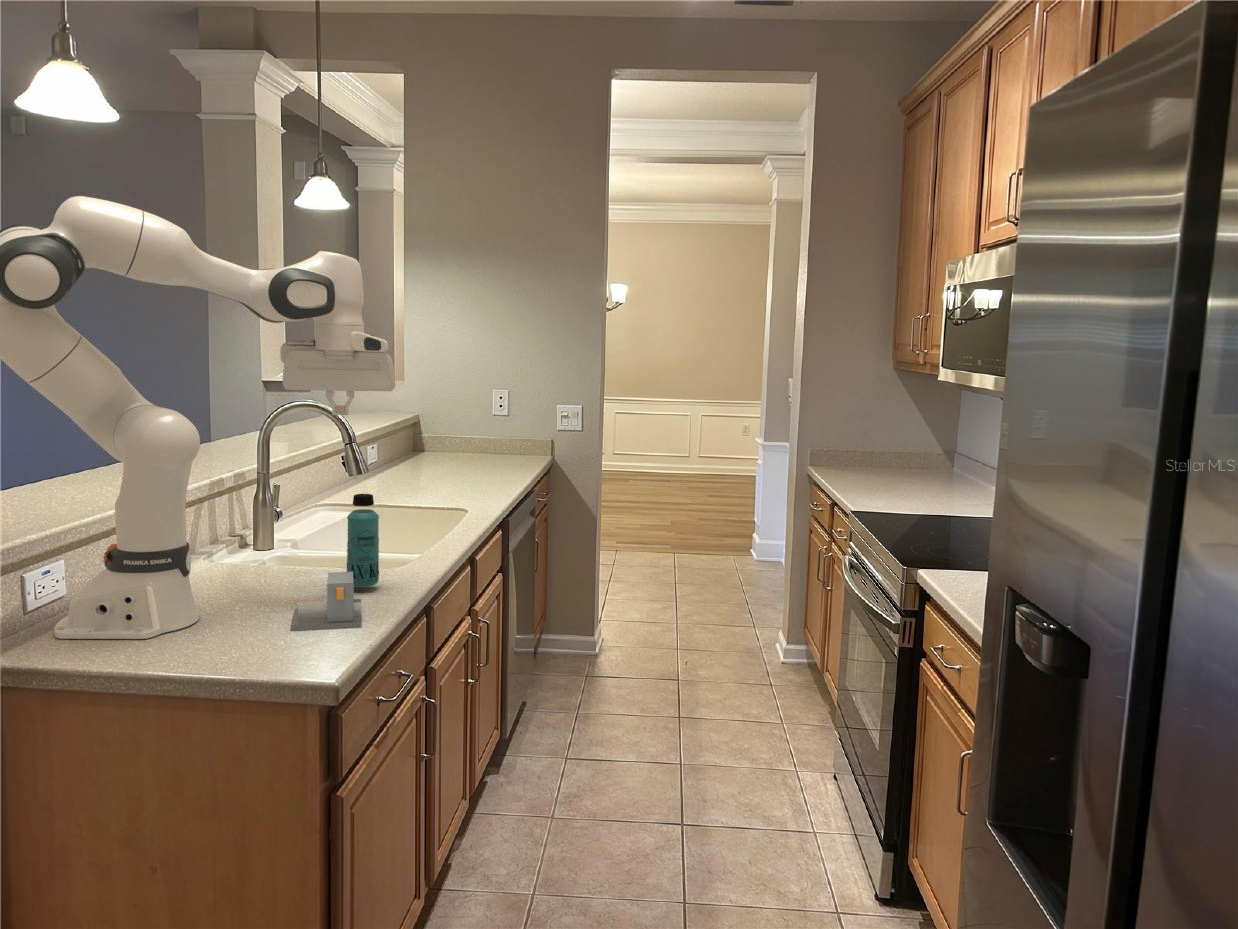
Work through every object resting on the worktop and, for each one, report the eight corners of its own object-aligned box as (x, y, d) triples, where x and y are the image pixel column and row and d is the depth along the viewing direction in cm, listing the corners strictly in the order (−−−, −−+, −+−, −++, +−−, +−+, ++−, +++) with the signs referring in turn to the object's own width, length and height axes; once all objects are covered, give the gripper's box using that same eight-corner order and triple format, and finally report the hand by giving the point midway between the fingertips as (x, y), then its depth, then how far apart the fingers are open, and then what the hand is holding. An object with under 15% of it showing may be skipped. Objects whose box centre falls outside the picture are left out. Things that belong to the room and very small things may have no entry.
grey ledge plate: (290, 631, 161) (290, 611, 161) (294, 614, 171) (294, 596, 170) (361, 627, 165) (361, 608, 164) (361, 611, 174) (361, 593, 174)
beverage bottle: (340, 589, 189) (339, 493, 186) (370, 583, 193) (369, 490, 190) (356, 596, 184) (355, 498, 181) (386, 590, 189) (385, 494, 186)
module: (327, 622, 163) (326, 584, 162) (328, 608, 172) (328, 572, 171) (353, 621, 165) (353, 583, 164) (353, 607, 173) (353, 571, 172)
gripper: (278, 339, 164) (280, 416, 166) (395, 342, 170) (396, 416, 172) (281, 339, 170) (283, 413, 172) (394, 342, 176) (394, 413, 178)
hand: (340, 415), depth 172 cm, fingers closed
